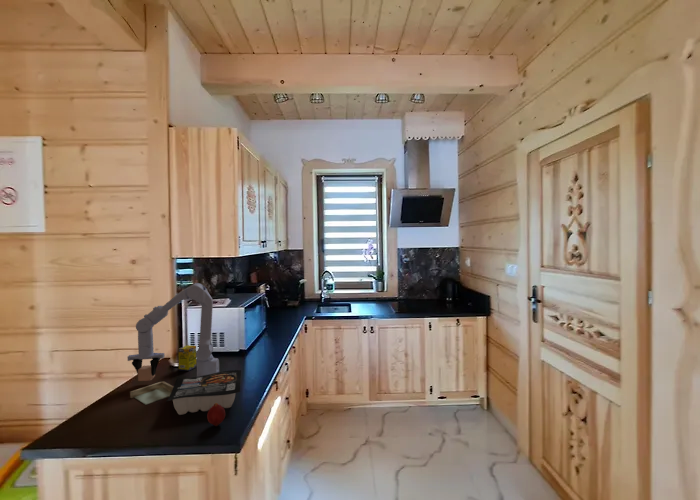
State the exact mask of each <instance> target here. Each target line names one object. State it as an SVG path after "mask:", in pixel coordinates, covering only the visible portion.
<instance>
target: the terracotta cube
mask: <svg viewBox="0 0 700 500" xmlns="http://www.w3.org/2000/svg"><path fill="white" fill-rule="evenodd" d="M155 377H156V374H155V375H154V376H152V369H151V364H149V365H142V367H141V368H140V369H138V374H137V381H138V382H144V381H145V382H148V381H152V380H153V379H154V378H155Z"/></svg>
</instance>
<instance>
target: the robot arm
mask: <svg viewBox="0 0 700 500" xmlns="http://www.w3.org/2000/svg"><path fill="white" fill-rule="evenodd" d="M189 299H190V300H193V301H195V302H197V303H199V305H201V312H200V326H199V327H200V330H199V342H198V348H197V349H196V377H199V376H204V375H209V374H213V373H218V372H220V360H219V358H217V357H214V356H213V354H212V353H213V351H214V346H213V344H212V326H213V325H212V323H213V307H214V306H213V305H214V299H213V298H212V296H211V295H210V293H209V291H208V289H207V287H206V286H204V285H203V284H202V283H199V282H195V283H192V284H191V285H190V286H188V287H187V288H185V289H182V290H181V291H179V292H178V293H177V294H176V295H175V296H174V297H172V298H171V299H169V301H167V302H166V303H165V304H164V305H157V306H154V307H152V310H151V311H150V312H149V313H148V314H145V315H143V318H141V319H139V320H138V321H137V322H136V324H135V329H136V331H137V343H138V344H137V348H138V353H136V354H129V355H128V356H127V362H130V361H132V362H131V365H132V366H133V368H134V369H135V371H136V374H137V375H138V369H140V368H141V367H142V366H143V360H150V361H149V363H150V365H151V369H152V376H154V375H155V376H156V373H157V367H158V365H159V362H160V361H161V360H162V359H164V358H165V355H166V354H165V352H154V334H153V333H154V332H153V327H155V325H157V324H159V323H160V322H161V321H162V320H164V318H166V317H167V316H168V314H169V311H170V310H171V309H173V308H174V307H175V306H177V305H178V304H179V303H181V302H182V301H187V300H189Z"/></svg>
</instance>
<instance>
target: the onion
mask: <svg viewBox="0 0 700 500" xmlns="http://www.w3.org/2000/svg"><path fill="white" fill-rule="evenodd" d="M225 417H226V410H225V408H224V407H222V406H221V405H219V404H217V403H215V404H214V406H212V407H211V408H210V409H209V410H208V411H207V415H206V418H207V422H208V423H210V425H213V426H215V427H218V426H219V425H221V423H222V422H224V420H225Z"/></svg>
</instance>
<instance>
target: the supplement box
mask: <svg viewBox="0 0 700 500" xmlns="http://www.w3.org/2000/svg"><path fill="white" fill-rule="evenodd" d="M177 352H178V371H179V372H180V371H182V372H191V371H192V370H194V369H197V360H196V359H197V358H196V352H197V345H187V344H186V345H184V346H182V347H180V348H178V350H177Z"/></svg>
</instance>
